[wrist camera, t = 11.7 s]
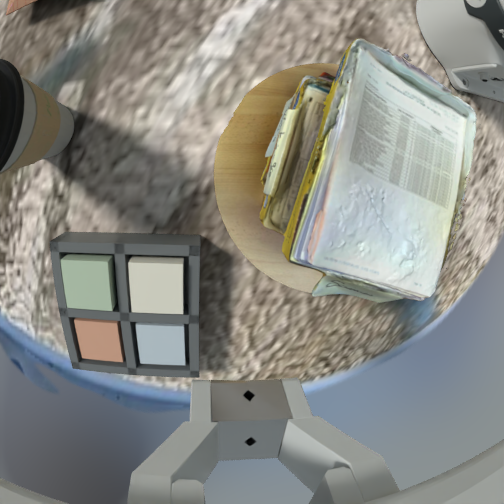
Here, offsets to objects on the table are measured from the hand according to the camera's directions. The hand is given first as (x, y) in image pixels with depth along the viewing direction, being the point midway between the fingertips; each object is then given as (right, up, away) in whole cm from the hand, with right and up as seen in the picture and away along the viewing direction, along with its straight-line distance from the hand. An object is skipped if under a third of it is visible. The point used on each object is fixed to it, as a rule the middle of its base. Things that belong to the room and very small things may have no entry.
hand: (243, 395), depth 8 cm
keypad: (-13, -1, +24) cm, 27 cm away
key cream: (-9, +1, +21) cm, 23 cm away
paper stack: (+9, +12, +24) cm, 28 cm away
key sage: (-16, +2, +19) cm, 25 cm away
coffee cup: (-21, +17, +17) cm, 32 cm away
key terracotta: (-16, -5, +22) cm, 28 cm away
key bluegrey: (-10, -5, +24) cm, 26 cm away
